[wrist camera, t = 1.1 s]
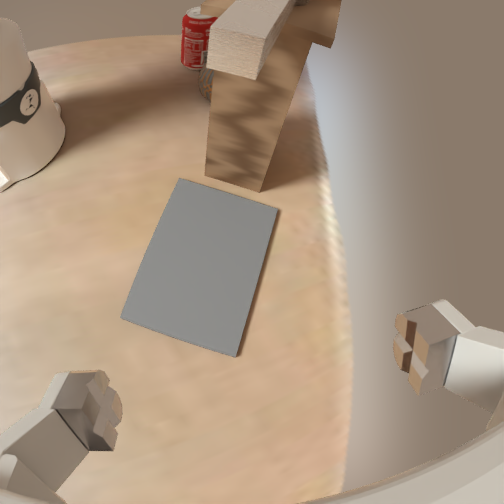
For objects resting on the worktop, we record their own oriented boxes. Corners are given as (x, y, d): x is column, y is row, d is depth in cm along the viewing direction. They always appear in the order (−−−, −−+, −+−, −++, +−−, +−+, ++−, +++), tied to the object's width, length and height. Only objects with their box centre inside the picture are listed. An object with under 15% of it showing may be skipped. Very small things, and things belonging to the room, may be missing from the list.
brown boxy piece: (192, 177, 44) (203, -16, 18) (219, 121, 49) (246, -44, 23) (268, 201, 44) (342, 19, 19) (286, 141, 49) (347, -17, 24)
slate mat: (121, 318, 35) (120, 317, 35) (179, 180, 43) (179, 178, 43) (235, 357, 36) (235, 357, 35) (276, 211, 44) (277, 209, 43)
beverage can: (208, 53, 56) (213, 4, 45) (217, 70, 54) (224, 17, 43) (177, 58, 54) (179, 7, 43) (185, 75, 52) (187, 21, 41)
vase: (237, 85, 53) (244, 46, 45) (237, 110, 50) (245, 69, 42) (199, 82, 52) (202, 43, 44) (195, 107, 49) (198, 66, 41)
